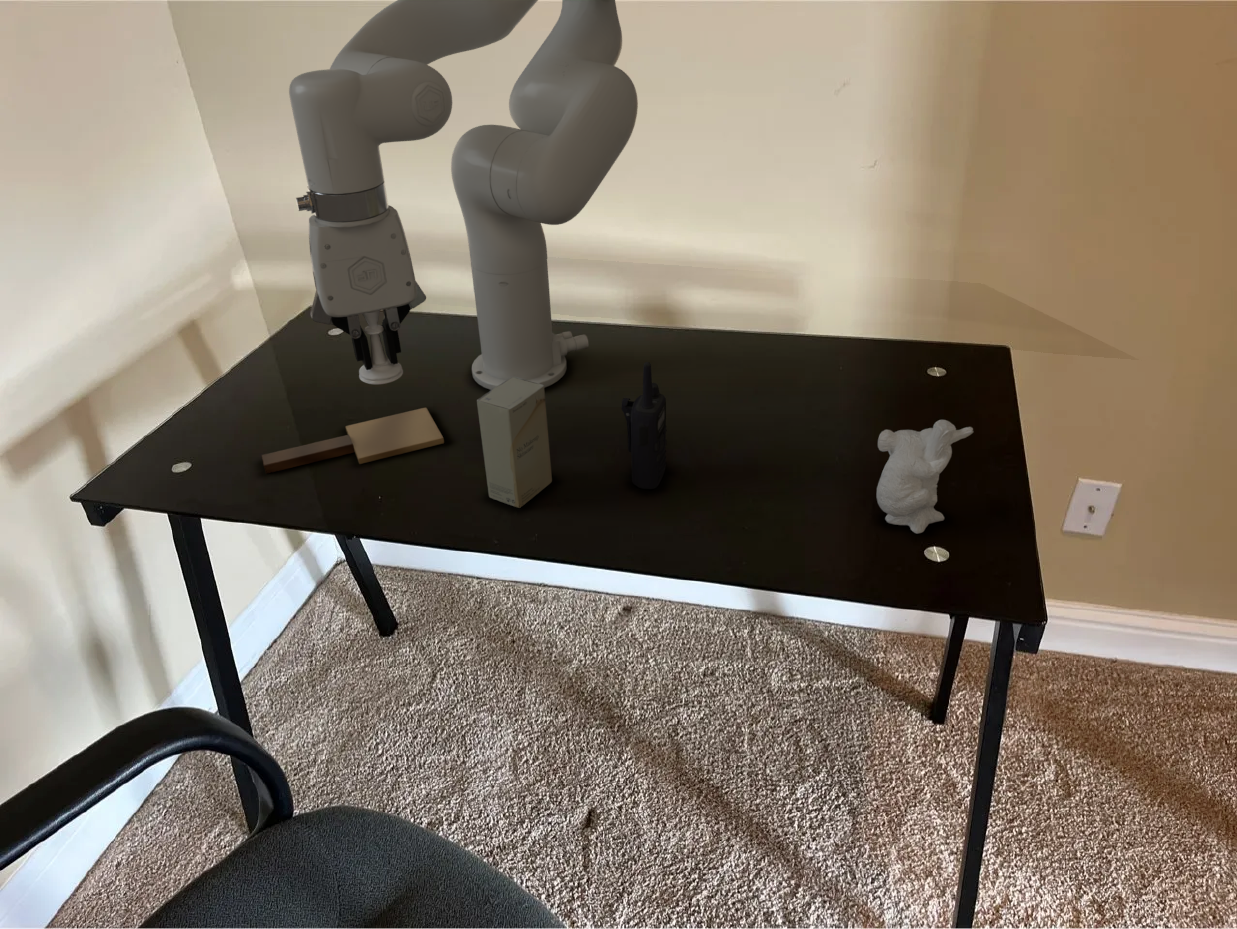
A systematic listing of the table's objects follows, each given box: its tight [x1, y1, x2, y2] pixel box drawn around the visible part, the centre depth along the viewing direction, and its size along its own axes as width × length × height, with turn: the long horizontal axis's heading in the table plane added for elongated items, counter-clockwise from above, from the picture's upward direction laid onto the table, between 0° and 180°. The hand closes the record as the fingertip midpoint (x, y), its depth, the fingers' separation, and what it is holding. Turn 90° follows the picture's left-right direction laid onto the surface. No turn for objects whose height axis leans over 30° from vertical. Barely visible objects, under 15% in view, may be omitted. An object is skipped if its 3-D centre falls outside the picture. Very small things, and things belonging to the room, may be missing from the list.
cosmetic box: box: [476, 377, 553, 509], centre depth 97 cm, size 6×4×12 cm
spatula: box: [261, 407, 445, 475], centre depth 108 cm, size 20×8×1 cm, turn 114°
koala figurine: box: [875, 419, 975, 535], centre depth 91 cm, size 8×7×12 cm
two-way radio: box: [621, 361, 668, 490], centre depth 98 cm, size 6×4×15 cm
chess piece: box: [358, 310, 404, 385], centre depth 102 cm, size 5×5×10 cm
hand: (379, 360), depth 104 cm, fingers closed on chess piece
